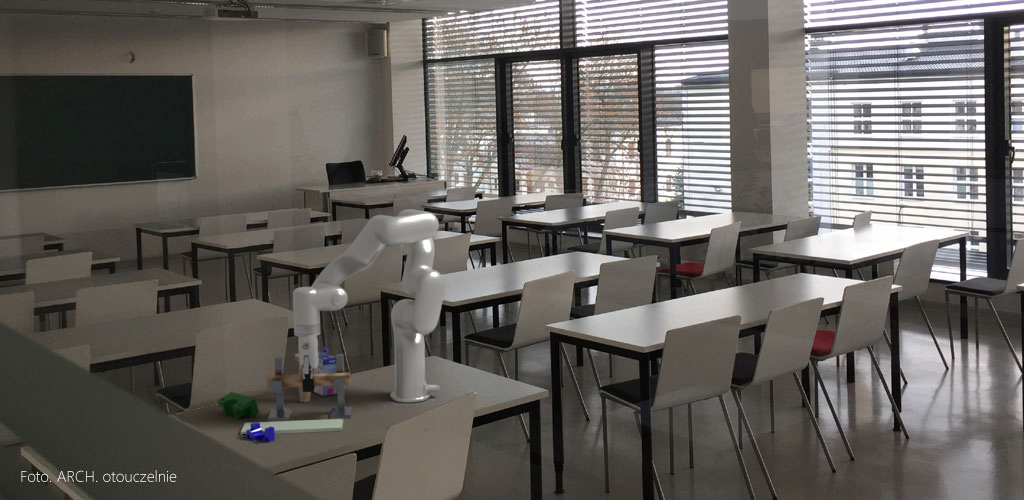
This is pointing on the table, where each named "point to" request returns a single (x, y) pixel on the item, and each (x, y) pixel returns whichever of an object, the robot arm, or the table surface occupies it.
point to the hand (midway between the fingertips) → (309, 389)
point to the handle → (303, 395)
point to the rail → (319, 379)
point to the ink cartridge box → (325, 371)
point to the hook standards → (285, 414)
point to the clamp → (238, 405)
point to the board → (299, 426)
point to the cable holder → (260, 433)
